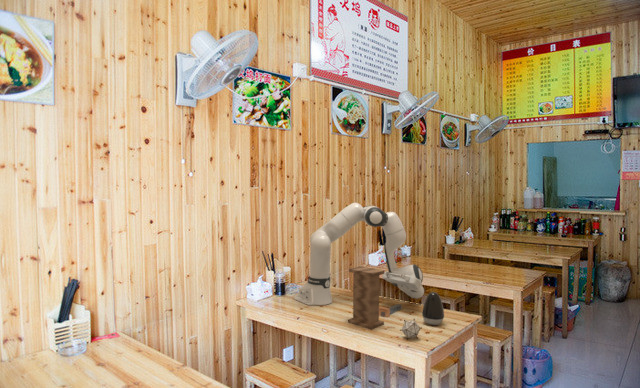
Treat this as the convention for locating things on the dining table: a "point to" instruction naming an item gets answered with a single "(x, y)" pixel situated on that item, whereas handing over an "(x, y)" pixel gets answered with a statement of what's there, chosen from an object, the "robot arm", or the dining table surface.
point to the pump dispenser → (433, 309)
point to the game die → (411, 329)
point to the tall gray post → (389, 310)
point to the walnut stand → (366, 297)
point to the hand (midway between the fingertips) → (394, 274)
